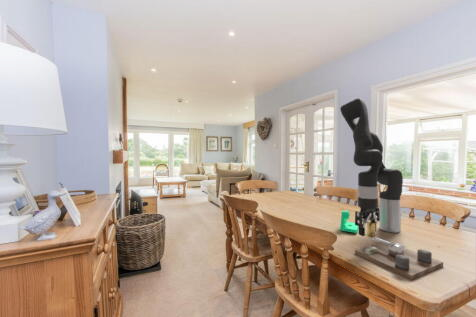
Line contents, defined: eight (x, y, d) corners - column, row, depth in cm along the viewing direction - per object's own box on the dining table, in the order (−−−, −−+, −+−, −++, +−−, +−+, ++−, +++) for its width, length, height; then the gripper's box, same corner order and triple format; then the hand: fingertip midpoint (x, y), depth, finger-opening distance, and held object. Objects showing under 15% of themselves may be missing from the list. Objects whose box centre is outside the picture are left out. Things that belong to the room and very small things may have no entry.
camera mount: (356, 235, 111) (356, 215, 111) (340, 232, 115) (340, 213, 115) (359, 228, 121) (359, 210, 121) (344, 225, 125) (344, 208, 125)
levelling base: (384, 244, 99) (384, 233, 99) (443, 266, 80) (443, 252, 80) (354, 253, 91) (354, 241, 91) (411, 280, 72) (411, 265, 72)
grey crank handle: (406, 256, 84) (407, 230, 84) (399, 259, 82) (399, 233, 82) (371, 242, 97) (371, 220, 96) (364, 245, 95) (364, 222, 94)
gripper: (368, 192, 99) (368, 227, 100) (349, 196, 92) (349, 233, 93) (386, 195, 93) (386, 232, 93) (366, 200, 86) (366, 240, 86)
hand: (367, 233), depth 93 cm, fingers open, 8 cm apart
